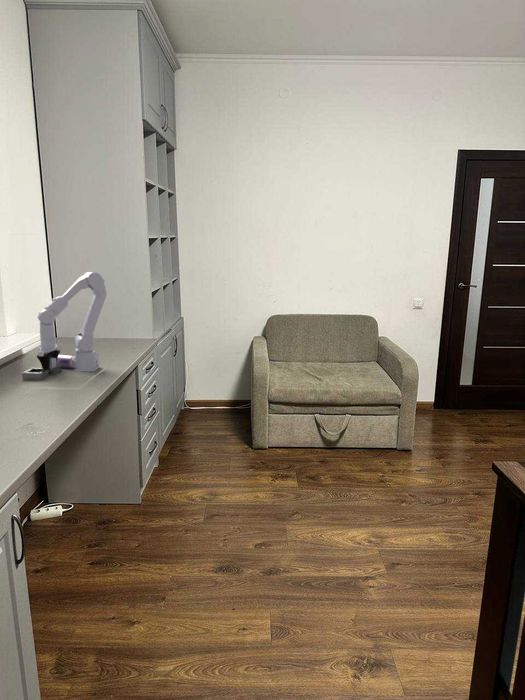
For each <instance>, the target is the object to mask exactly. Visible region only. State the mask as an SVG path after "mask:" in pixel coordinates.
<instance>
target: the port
mask: <svg viewBox="0 0 525 700" xmlns="http://www.w3.org/2000/svg"><path fill="white" fill-rule="evenodd" d="M50 376H52V375H51V373H50V368H41V367H30V368H29V369H27V370H25V371H23V372H22V373H21V377H22V380H23V381H24V380H26V381H43V380H45V379H47V378H48V377H50Z"/></svg>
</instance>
